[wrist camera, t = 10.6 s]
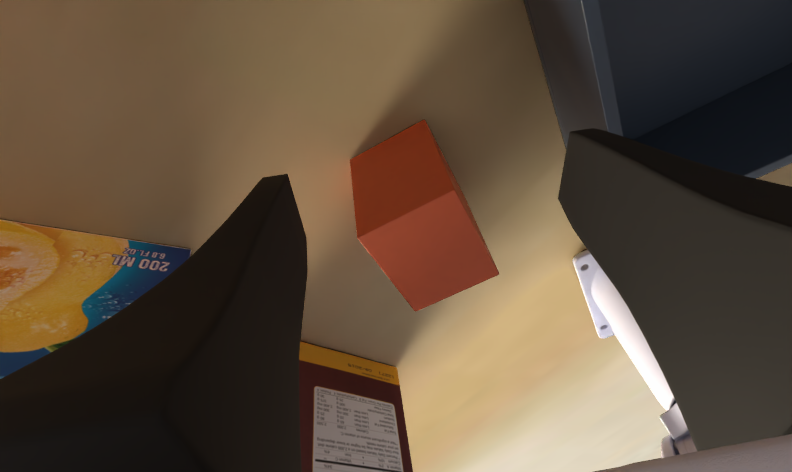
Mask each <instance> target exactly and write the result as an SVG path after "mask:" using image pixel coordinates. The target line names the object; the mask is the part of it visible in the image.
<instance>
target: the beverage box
mask: <svg viewBox="0 0 792 472" xmlns="http://www.w3.org/2000/svg"><path fill="white" fill-rule="evenodd" d="M190 257H191V249H187V248H181V247H174V246H168V245H162V244H155V243H149V242H142V241H136V240H129V239H123V238H116V237H110V236H104V235H97V234H91V233H84V232H78V231H71V230H65V229H59V228H52V227H46V226H39V225H33V224H26V223H20V222H14V221H7V220H1V219H0V379H1V378H3V377H5V376H7V375H9V374H11V373H13V372H15V371H17V370H19V369H21V368H22V367H24V366H26V365H28V364H30V363H32V362H34V361H36V360H38V359H39V358H41V357H43V356H45V355H47V354H49V353H51V352H53V351H55V350H56V349H58V348H60V347H62V346H64V345H65V344H67V343H69V342H71V341H72V340H74V339H76V338H77V337H79V336H81V335H82V334H84V333H86V332H87V331H89V330H91V329H92V328H94V327H96V326H97V325H99V324H101V323H102V322H104V321H105V320H107V319H108V318H110V317H112V316H113V315H115V314H116V313H118V312H119V311H121V310H122V309H124V308H125V307H127V306H128V305H129V304H131V303H132V302H134V301H135V300H136V299H138V298H139V297H140V296H142V295H143V294H145V293H146V292H147V291H149V290H150V289H151V288H153V287H154V286H156V285H157V284H158V283H160V282H161V281H162V280H164V279H165V278H166V277H167V276H169V275H170V274H171V273H172V272H173V271H174V270H176V269H177V268H178V267H179V266H180V265H182V264H183V263H184V262H185V261H186V260H187V259H188V258H190Z"/></svg>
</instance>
